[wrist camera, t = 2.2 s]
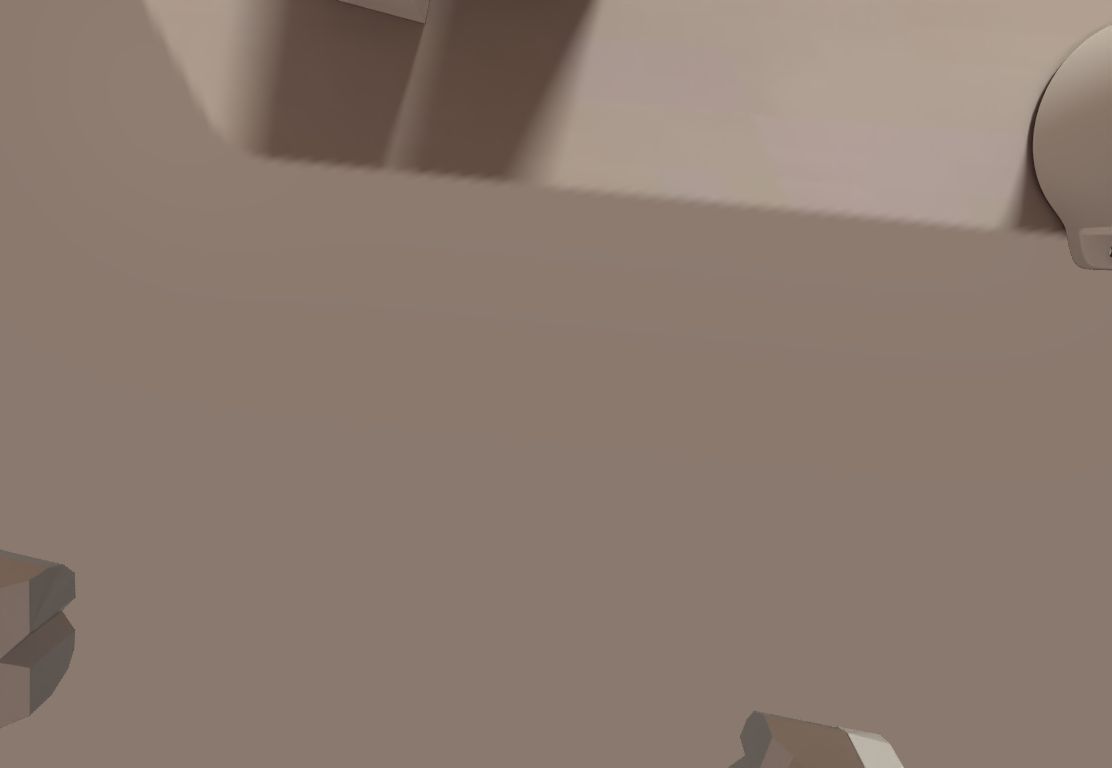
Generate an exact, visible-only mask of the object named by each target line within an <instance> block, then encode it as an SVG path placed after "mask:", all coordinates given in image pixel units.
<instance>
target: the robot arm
mask: <svg viewBox="0 0 1112 768" xmlns="http://www.w3.org/2000/svg"><path fill="white" fill-rule="evenodd" d="M1033 158H1034V165H1035V170H1036V175H1037V178H1038V181H1039V184H1040V187H1041V189H1042V191H1043V193H1044V195H1045V197H1046V199H1047V200H1048V202H1049V204H1050V205H1051V206H1052V208H1053V209H1054V211H1055V212H1056V213H1057V215H1058V216H1059V217H1060V219H1061V221H1062V222H1063V224H1064V226H1065V228H1066V234H1067V239H1068V244H1069V249H1070V253H1071V256H1072V258H1073V260H1074V262H1075V264H1077V266H1079V267H1081V268H1083V269H1094V270H1095V269H1096V270H1112V253H1111V255H1109V249H1110V248H1111V249H1112V25H1110V26H1108V27H1106V28H1104V29H1102V30H1100V31H1099V32H1097V33H1095V34H1094V35H1092V36H1091V37H1090V38H1088V39H1087V40H1086V41H1084V42H1083V43H1082V44H1081V45H1080V46H1079V47H1077V48H1076V49H1075V50H1074V51H1073V52H1072V53H1071V54H1070V56H1069V57H1068V58H1067V59H1066V60H1065V61H1064V63H1063V64H1062V65H1061V66H1060V68H1059V69H1058V71H1057V72H1056V74H1055V75H1054V77H1053V78H1052V80H1051V82H1050V84H1049V85H1048V87H1047V89H1046V92H1045V94H1044V96H1043V99H1042V101H1041V104H1040V107H1039V110H1038V113H1037V117H1036V122H1035V127H1034V135H1033ZM74 599H75V573H74V572H73V571H72V570H70V569H69V568H68V567H66V566H65V565H63V564H59V563H54V562H50V561H46V560H41V559H37V558H33V557H29V556H25V555H20V554H16V553H12V552H8V551H3V550H0V728H2V727H4V726H7V725H9V724H11V723H14V722H16V721H18V720H21V719H23V718H25V717H28V716H30V715H31V714H32V713H33V712H34V711H35V710H36V709H37V708H38V707H39V706H40V705H41V704H43V703H44V702H45V701H46V700H47V699H48V698H49V697H50V696H51V695H52V693H53V692H54V690H55V689H56V687H57V685H58V684H59V682H60V681H61V679H62V678H63V676H64V674H65V673H66V671H67V670H68V667H69V664H70V661H71V657H72V654H73V651H74V642H75V641H74V639H75V629H74V628H73V626H72V625H71V624H70V622H69V621H68V619H67V618H66V616H65V614H64V613H63V611H62V610H64V608H65V607H66V606H68V605H69V604H70V602H72V601H73V600H74ZM740 738H741V742H742V746H743V749H744V752H745V756H744V757H742V758H741V759H739V760H738V761H737V762H735V763H734V764H732V765H731V766H729V768H904V767H903V765H902V764H901V762H900V760H899V759H898V757H897V755H896V754H895V752H894V750H893V748H892V747H891V745H890V744H889V742H888V741H886V740H885V739H884V738H883V737H882V736H880V735H879V734H875V733H870V732H865V731H859V730H854V729H849V728H843V727H838V726H837V727H831V726H827V725H822V724H817V723H812V722H807V721H802V720H797V719H792V718H787V717H782V716H778V715H773V714H768V713H763V712H758V711H753V713H752V714H751V715H750V716H749V718H748V719H747V720H746V722H745V725H744V728H743V730H742V733H741V735H740Z"/></svg>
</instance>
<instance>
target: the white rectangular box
mask: <svg viewBox="0 0 1112 768" xmlns="http://www.w3.org/2000/svg"><path fill="white" fill-rule="evenodd" d="M339 1H342V2H346V3H350V4H353V5H357V6H361V7H365V8H368V9H372V10H376V11H380V12H383V13H387V14H391V15H395V16H398V17H402V18H406V19H410V20H413V21H417V22H421V23H425V21H426V16H427V11H428V5H429V0H339Z"/></svg>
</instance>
